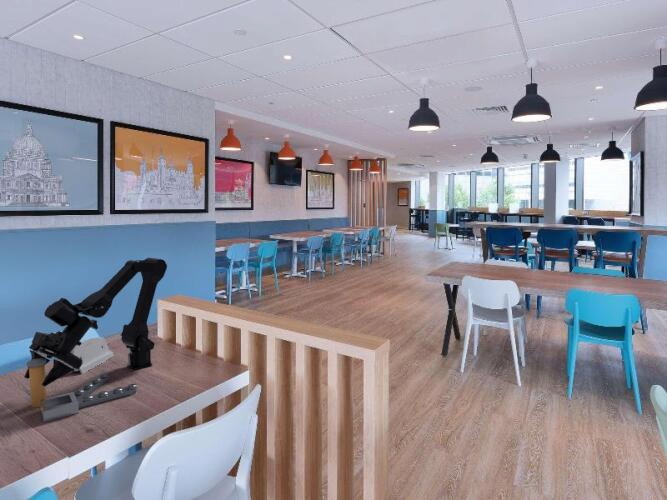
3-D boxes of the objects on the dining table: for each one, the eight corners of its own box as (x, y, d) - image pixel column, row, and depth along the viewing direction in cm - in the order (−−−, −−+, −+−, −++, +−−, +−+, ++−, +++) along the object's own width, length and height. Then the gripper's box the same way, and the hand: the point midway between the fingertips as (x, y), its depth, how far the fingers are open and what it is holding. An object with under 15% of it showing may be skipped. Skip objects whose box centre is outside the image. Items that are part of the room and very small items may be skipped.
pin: (43, 399, 122) (40, 357, 120) (52, 403, 119) (49, 360, 118) (25, 405, 118) (23, 362, 116) (34, 409, 115) (31, 365, 114)
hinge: (81, 374, 139) (71, 346, 138) (70, 377, 140) (60, 350, 139) (115, 356, 155) (106, 331, 155) (104, 359, 156) (95, 334, 155)
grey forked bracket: (123, 374, 140) (123, 365, 140) (140, 395, 125) (140, 386, 125) (36, 394, 124) (35, 385, 124) (44, 422, 110) (43, 411, 109)
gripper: (34, 315, 124) (-7, 362, 116) (70, 326, 115) (28, 377, 107) (63, 333, 132) (26, 378, 123) (98, 344, 123) (61, 394, 115)
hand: (34, 381), depth 117 cm, fingers open, 9 cm apart
